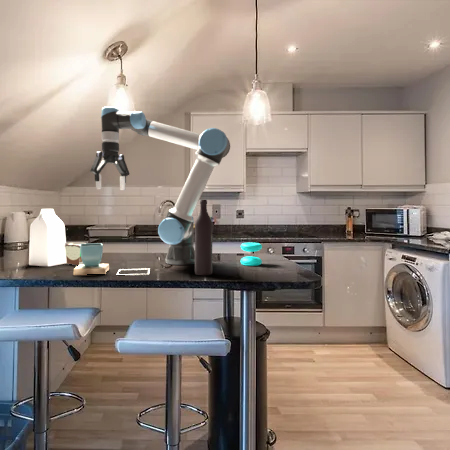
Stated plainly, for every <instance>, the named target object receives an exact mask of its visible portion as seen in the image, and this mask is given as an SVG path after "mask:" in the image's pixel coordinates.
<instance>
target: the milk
mask: <svg viewBox="0 0 450 450" xmlns="http://www.w3.org/2000/svg"><path fill="white" fill-rule="evenodd" d="M65 226H66V225H65V223H64V222H63V221H62V219H60V217H58V215H56V212H55V210H54V208H41V210H40V212H39V215H38V216H37V217H35V219H33V221H32V222H31V224H30V225H29V249H28V250H29V251H28V252H29V253H28V254H29V256H28V265H29V266H37V267H38V266H39V267H53V266H58V265H63V264H64V265H65V264H67V262H66V250H65V247H64V246H65V243H67V237H66V227H65Z"/></svg>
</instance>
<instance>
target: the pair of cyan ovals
mask: <svg viewBox="0 0 450 450" xmlns="http://www.w3.org/2000/svg"><path fill="white" fill-rule="evenodd" d="M240 248H241V250H242V251H244V252H247V253H248V252H249V253H253V252H254V253H255V252H259V251H261V250H262V249H263V245H262V244H261V243H259V242H243V243H241V245H240ZM240 264H241V265H243V266H247V267H257V266H260V265H262V264H263V260H262V259H261V258H260V257H258V256H251V255H250V256H244V257H242V258H241V259H240Z"/></svg>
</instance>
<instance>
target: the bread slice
mask: <svg viewBox="0 0 450 450" xmlns="http://www.w3.org/2000/svg"><path fill="white" fill-rule="evenodd" d="M109 270H110V264H109V263H100V264H99V266H91V267H85V266H84V264H80V265H78V266H77V265H76V266H75V268H73V276H88V275H87V274H105V275H106V274H107V273H108V272H107V271H109ZM106 272H107V273H106Z"/></svg>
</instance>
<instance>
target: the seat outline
mask: <svg viewBox="0 0 450 450" xmlns="http://www.w3.org/2000/svg"><path fill="white" fill-rule="evenodd" d="M121 271H147V273H124V274H120V273H121ZM150 271H151V268H127V269H126V268H125V269H124V268H122V269H121V268H120V269H118V271H117V273H116V274H115V275H125V276H149V275H150ZM119 272H120V273H119Z"/></svg>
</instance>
